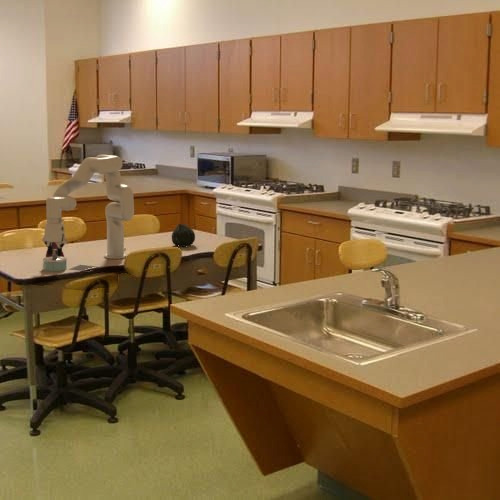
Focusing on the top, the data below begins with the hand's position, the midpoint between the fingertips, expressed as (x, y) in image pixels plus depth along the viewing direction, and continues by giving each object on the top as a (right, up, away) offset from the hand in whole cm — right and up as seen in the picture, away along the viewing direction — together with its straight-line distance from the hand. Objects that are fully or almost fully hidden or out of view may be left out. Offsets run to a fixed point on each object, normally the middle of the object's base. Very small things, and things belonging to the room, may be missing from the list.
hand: (54, 254), depth 384 cm
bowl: (0, -8, +2) cm, 8 cm away
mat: (+14, -8, +6) cm, 17 cm away
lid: (0, -3, +1) cm, 3 cm away
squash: (+61, +5, +76) cm, 98 cm away
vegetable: (-5, -5, +18) cm, 19 cm away
